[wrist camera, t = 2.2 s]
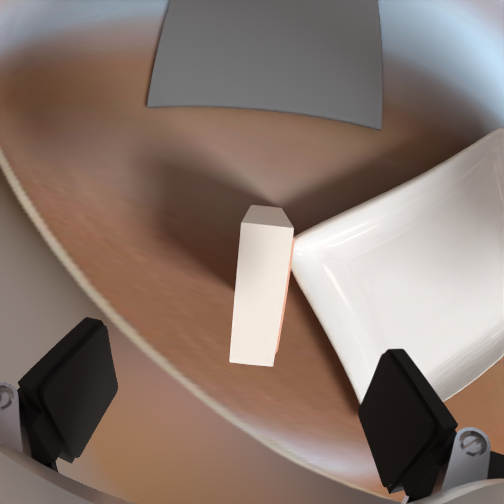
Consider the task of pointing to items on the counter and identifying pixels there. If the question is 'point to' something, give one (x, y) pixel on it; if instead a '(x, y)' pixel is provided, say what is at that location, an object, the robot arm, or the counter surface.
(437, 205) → the square plate
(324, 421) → the counter surface
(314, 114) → the mat
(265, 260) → the tile
